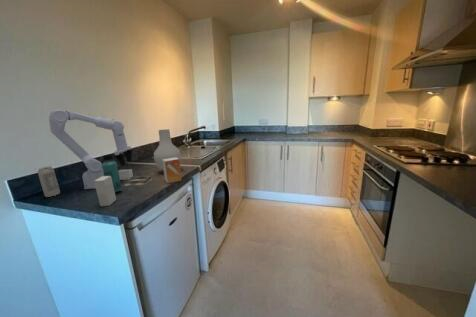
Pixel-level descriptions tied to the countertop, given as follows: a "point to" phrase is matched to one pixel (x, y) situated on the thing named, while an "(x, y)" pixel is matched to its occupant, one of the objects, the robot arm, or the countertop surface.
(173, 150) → the vase
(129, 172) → the lock block
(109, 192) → the skincare box
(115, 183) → the beverage bottle
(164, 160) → the small box
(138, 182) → the channel board
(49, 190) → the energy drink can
